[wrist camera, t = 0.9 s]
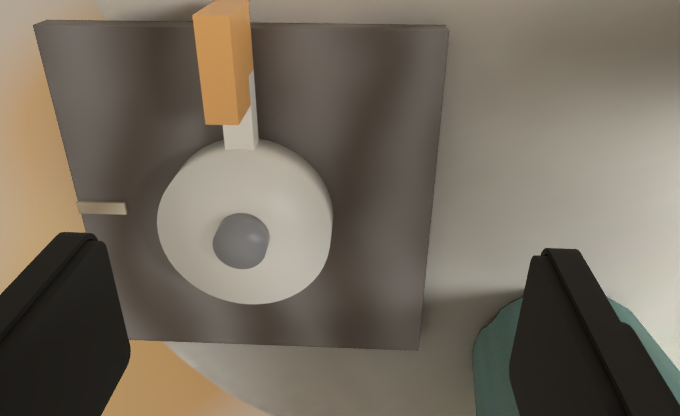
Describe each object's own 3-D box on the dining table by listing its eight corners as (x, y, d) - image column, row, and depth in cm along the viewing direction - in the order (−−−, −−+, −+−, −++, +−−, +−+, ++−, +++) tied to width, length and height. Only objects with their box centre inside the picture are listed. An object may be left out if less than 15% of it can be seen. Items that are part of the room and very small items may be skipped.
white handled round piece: (333, 281, 36) (328, 330, 32) (182, 277, 37) (159, 324, 33) (332, -1, 28) (325, 16, 24) (136, -3, 28) (97, 13, 24)
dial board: (445, 25, 30) (449, 31, 28) (416, 335, 40) (418, 352, 39) (47, 19, 31) (30, 25, 29) (121, 325, 41) (112, 341, 40)
